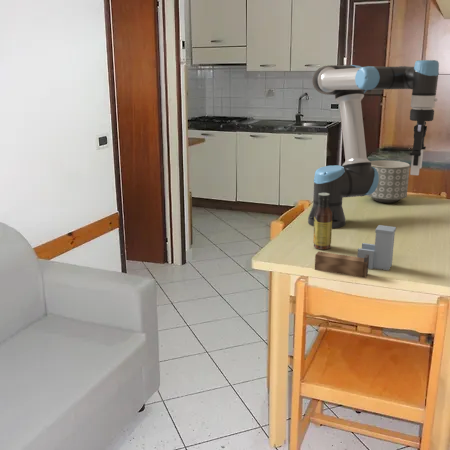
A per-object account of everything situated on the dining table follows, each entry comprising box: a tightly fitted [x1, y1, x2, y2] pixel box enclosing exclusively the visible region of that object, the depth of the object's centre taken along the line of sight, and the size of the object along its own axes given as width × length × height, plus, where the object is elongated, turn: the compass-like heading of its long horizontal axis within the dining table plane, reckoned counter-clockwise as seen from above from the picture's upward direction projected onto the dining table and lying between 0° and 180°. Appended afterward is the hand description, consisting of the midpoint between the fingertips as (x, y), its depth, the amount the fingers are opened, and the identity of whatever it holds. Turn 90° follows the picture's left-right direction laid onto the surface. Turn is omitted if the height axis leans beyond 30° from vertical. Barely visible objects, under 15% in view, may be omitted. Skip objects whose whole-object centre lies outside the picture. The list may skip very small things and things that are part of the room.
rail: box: [314, 251, 369, 279], centre depth 166 cm, size 16×4×6 cm, turn 64°
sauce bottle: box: [312, 193, 333, 251], centre depth 187 cm, size 6×6×20 cm
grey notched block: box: [356, 224, 397, 271], centre depth 170 cm, size 10×7×13 cm
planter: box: [366, 159, 411, 204], centre depth 253 cm, size 19×19×18 cm
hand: (416, 171), depth 183 cm, fingers open, 13 cm apart
